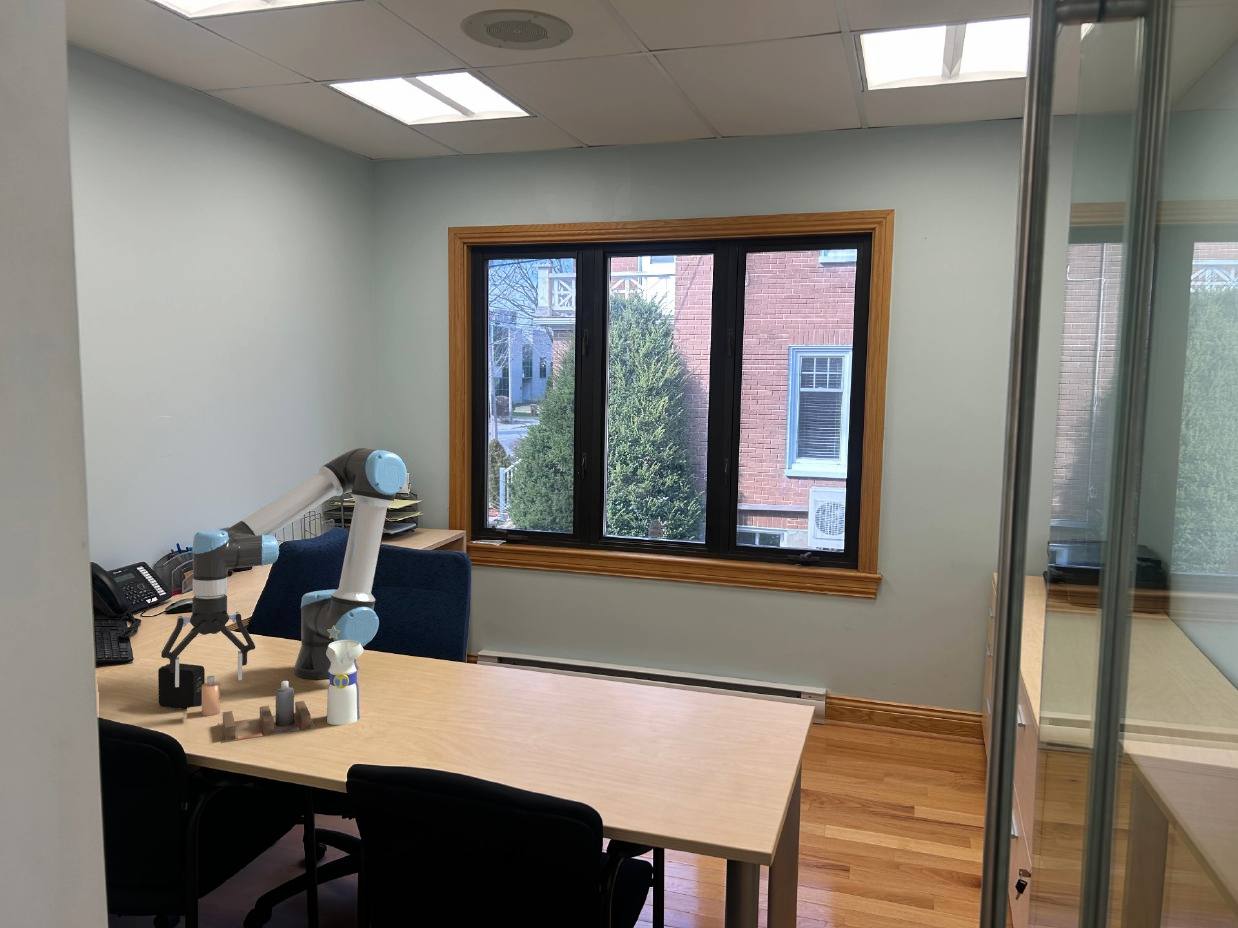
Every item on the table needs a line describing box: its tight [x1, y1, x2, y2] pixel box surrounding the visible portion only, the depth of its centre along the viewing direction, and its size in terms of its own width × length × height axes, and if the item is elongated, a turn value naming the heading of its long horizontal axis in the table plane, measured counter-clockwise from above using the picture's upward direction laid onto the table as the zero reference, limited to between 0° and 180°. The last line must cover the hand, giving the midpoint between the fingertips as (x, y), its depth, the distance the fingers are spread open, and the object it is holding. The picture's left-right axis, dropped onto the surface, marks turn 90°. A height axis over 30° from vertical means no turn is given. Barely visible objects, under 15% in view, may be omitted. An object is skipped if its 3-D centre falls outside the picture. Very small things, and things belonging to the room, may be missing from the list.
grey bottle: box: [275, 680, 295, 727], centre depth 196 cm, size 4×4×10 cm
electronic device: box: [157, 662, 206, 710], centre depth 208 cm, size 4×10×10 cm, turn 79°
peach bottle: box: [201, 675, 221, 717], centre depth 201 cm, size 4×4×10 cm
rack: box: [217, 700, 316, 744], centre depth 195 cm, size 20×12×4 cm, turn 119°
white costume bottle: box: [326, 625, 364, 726], centre depth 199 cm, size 8×9×25 cm
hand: (208, 681), depth 201 cm, fingers open, 13 cm apart
